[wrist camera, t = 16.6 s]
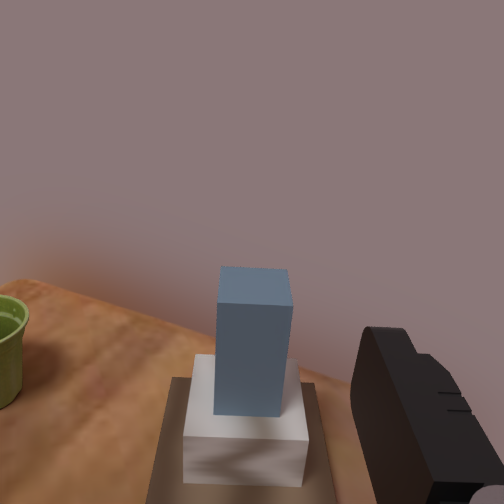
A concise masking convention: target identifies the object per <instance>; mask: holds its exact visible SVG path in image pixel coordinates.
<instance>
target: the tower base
mask: <svg viewBox="0 0 504 504" xmlns="http://www.w3.org/2000/svg"><path fill="white" fill-rule="evenodd" d="M214 380H215V355H205V354H196V355H195V362H194V368H193V375H192V378H183V377H172V380H171V385H170V390H169V394H168V399H167V404H166V409H165V413H164V418H163V423H162V428H161V432H160V437H159V442H158V447H157V451H156V456H155V461H154V466H153V470H152V475H151V480H150V484H149V489H148V494H147V499H146V503H145V504H337V503H336V498H335V492H334V487H333V482H332V476H331V471H330V466H329V460H328V455H327V450H326V444H325V439H324V434H323V428H322V423H321V418H320V412H319V407H318V402H317V396H316V391H315V386H314V383H301V382H300V376H299V370H298V363H297V359H296V358H287V361H286V369H285V378H284V386H283V394H282V402H281V410H280V418H279V417H252V416H225V415H213V408H214Z"/></svg>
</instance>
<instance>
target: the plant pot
mask: <svg viewBox="0 0 504 504" xmlns="http://www.w3.org/2000/svg"><path fill="white" fill-rule="evenodd" d="M28 320H29V310H28V308H27V306H26V305H25V304H24V303H23V302H22V301H20V300H18V299H16V298H14V297H10V296H6V295H0V409H1V408H3V407H5V406H6V405H8V404H9V403H11V402H12V401H13V400H14V398H15V397H16V395H17V394H18V392H19V391H20V390H21V389H22V337H23V334H24V331H25V326H26V325H27V322H28Z"/></svg>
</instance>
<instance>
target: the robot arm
mask: <svg viewBox="0 0 504 504" xmlns="http://www.w3.org/2000/svg"><path fill="white" fill-rule="evenodd" d="M350 400H351V409H352V414H353V418H354V421H355V425H356V429H357V432H358V436H359V440H360V443H361V447H362V450H363V454H364V458H365V461H366V465H367V469H368V472H369V476H370V479H371V483H372V487H373V490H374V494H375V498H376V501H377V504H504V465H503V464H502V462H501V460H500V458H499V457H498V455H497V453H496V452H495V450H494V448H493V446H492V445H491V443H490V441H489V440H488V438H487V436H486V434H485V433H484V431H483V429H482V427H481V426H480V424H479V422H478V421H477V419H476V417H475V415H472V413H471V411H472V410H471V409H470V407H469V405H468V403H467V402H466V400H465V398H464V397H462V396H461V392H460V390H459V388H458V386H457V384H456V383H455V381H454V379H453V378H452V376H451V374H450V372H448V371H447V370H446V369H445V368H444V367H443V366H442V365H441V364H440V363H439V362H437V361H436V360H435V359H434V358H433V357H432V356H431V355H430V354H418V353H417V352H416V350H415V348H414V346H413V344H412V342H411V340H410V338H409V336H408V334H407V332H406V331H405V330H404V329H403V328H389V327H365V329H364V330H363V333H362V337H361V341H360V346H359V350H358V355H357V359H356V364H355V368H354V373H353V377H352V382H351V391H350Z"/></svg>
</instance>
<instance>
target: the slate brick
mask: <svg viewBox="0 0 504 504" xmlns="http://www.w3.org/2000/svg"><path fill="white" fill-rule="evenodd" d="M292 313H293V302H292V295H291V290H290V284H289V278H288V272H287V270H284V269H264V268H244V267H225V266H221V271H220V281H219V290H218V300H217V326H216V352H215V380H214V408H213V415H225V416H252V417H279V418H280V410H281V402H282V394H283V386H284V378H285V369H286V361H287V353H288V345H289V337H290V329H291V320H292Z"/></svg>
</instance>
